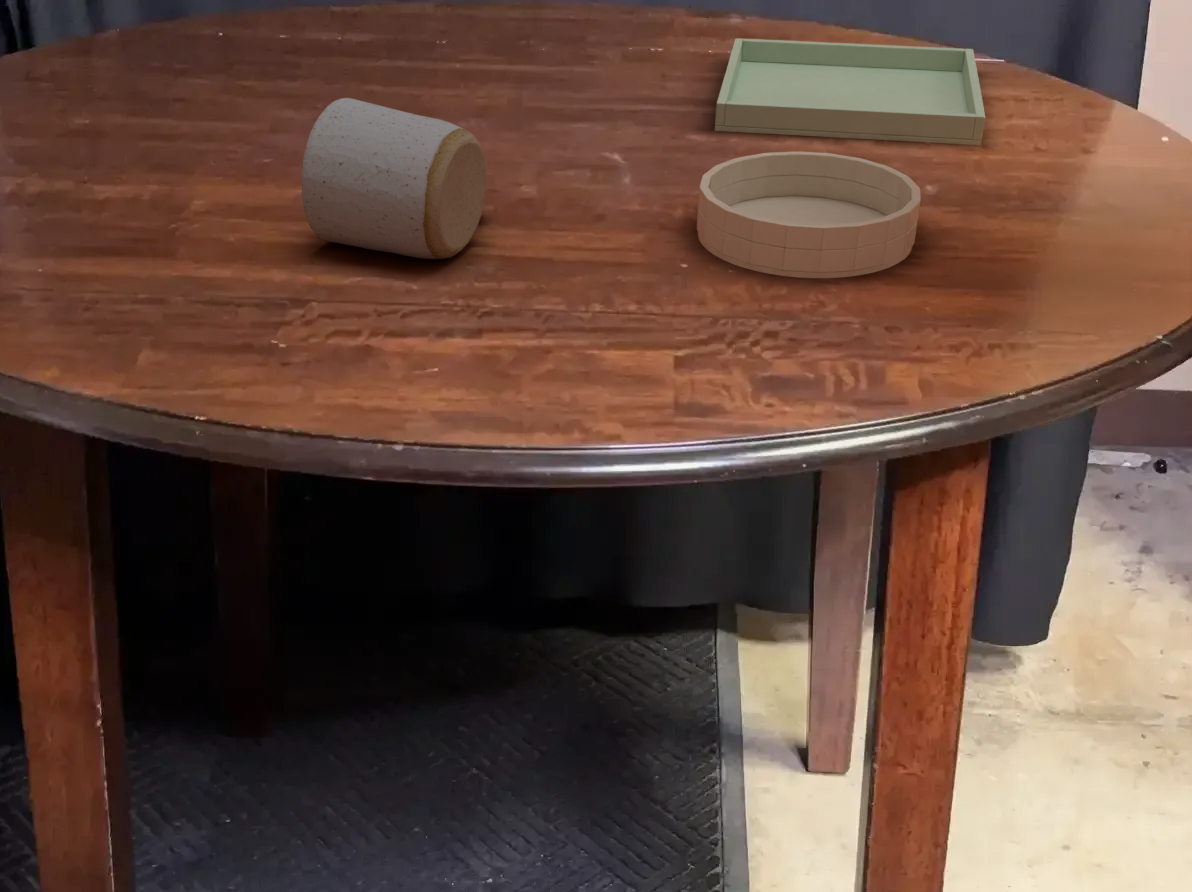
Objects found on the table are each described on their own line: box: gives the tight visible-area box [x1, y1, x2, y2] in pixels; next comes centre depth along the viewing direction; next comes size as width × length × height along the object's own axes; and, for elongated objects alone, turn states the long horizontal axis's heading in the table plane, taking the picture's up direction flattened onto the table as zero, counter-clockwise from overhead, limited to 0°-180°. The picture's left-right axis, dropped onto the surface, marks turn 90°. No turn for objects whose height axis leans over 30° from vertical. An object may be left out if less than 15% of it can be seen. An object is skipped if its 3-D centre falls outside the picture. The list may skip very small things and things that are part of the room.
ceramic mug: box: [301, 97, 488, 260], centre depth 83 cm, size 11×8×8 cm
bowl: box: [696, 150, 922, 279], centre depth 84 cm, size 12×12×3 cm
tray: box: [714, 37, 987, 146], centre depth 105 cm, size 17×16×2 cm
